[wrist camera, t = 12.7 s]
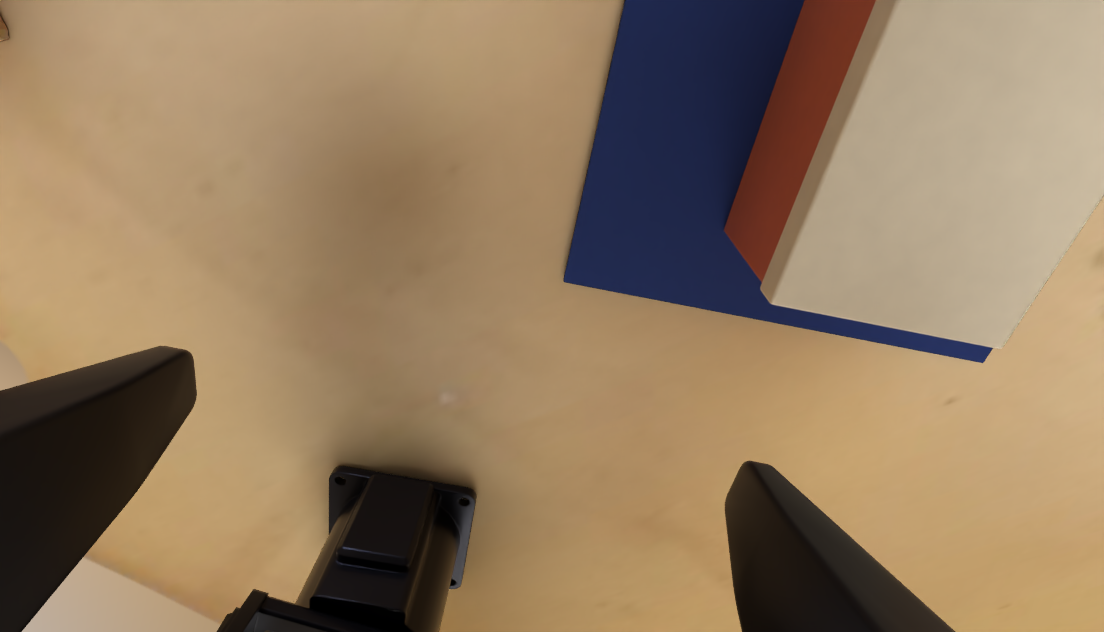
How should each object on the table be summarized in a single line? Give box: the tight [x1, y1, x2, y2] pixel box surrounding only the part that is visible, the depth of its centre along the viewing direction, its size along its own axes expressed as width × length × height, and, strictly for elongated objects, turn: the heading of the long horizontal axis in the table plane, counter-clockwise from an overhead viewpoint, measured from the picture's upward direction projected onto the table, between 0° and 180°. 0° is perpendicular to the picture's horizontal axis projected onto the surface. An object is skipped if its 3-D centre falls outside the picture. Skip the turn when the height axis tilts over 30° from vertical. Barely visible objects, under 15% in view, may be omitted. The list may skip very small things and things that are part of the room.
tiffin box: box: [724, 0, 1104, 349], centre depth 14 cm, size 10×6×6 cm, turn 169°
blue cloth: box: [564, 0, 993, 363], centre depth 17 cm, size 16×16×1 cm
